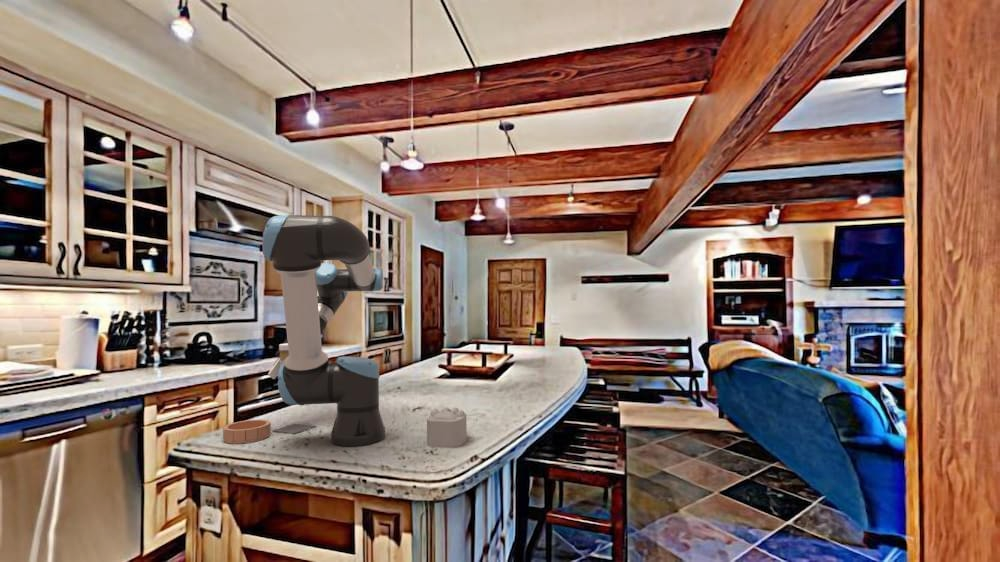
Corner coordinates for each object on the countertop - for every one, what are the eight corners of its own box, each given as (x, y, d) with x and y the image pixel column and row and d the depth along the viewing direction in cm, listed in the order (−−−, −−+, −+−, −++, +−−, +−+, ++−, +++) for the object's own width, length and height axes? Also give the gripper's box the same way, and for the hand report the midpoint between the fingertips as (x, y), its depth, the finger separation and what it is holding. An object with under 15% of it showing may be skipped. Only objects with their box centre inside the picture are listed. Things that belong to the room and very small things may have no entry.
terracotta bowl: (278, 434, 142) (279, 421, 143) (244, 445, 131) (244, 432, 131) (249, 430, 147) (249, 418, 147) (213, 441, 136) (213, 428, 136)
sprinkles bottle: (296, 387, 147) (296, 343, 148) (280, 388, 145) (280, 344, 145) (294, 384, 151) (293, 342, 152) (278, 386, 149) (278, 343, 149)
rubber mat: (316, 426, 151) (316, 425, 151) (294, 434, 142) (294, 433, 142) (294, 424, 154) (294, 423, 154) (271, 431, 145) (271, 430, 145)
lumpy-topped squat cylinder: (423, 447, 128) (422, 414, 129) (437, 433, 141) (436, 404, 142) (460, 448, 127) (460, 415, 127) (471, 434, 140) (470, 405, 140)
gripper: (342, 327, 159) (305, 385, 143) (303, 327, 166) (263, 382, 150) (331, 312, 155) (291, 370, 139) (291, 312, 161) (249, 368, 145)
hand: (277, 376), depth 145 cm, fingers closed on sprinkles bottle, 4 cm apart
